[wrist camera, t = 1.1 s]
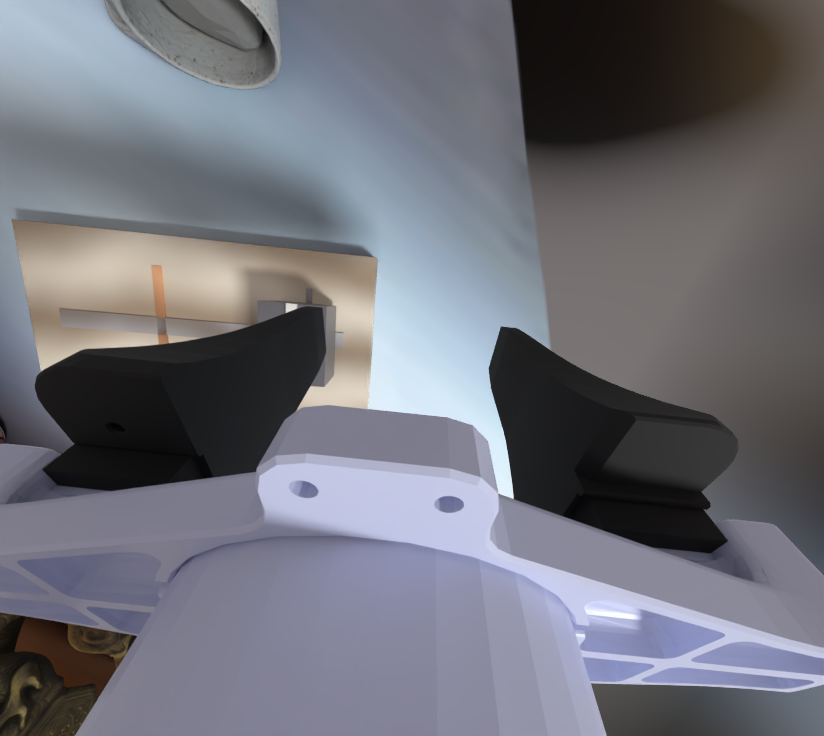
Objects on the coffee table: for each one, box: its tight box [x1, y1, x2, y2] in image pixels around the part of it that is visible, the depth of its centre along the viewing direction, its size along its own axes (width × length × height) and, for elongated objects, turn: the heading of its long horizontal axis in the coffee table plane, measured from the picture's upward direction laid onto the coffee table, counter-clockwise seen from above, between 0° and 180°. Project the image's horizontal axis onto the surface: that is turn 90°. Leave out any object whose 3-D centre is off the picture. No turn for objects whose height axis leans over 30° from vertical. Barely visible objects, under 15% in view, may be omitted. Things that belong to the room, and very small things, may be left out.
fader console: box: [12, 219, 378, 411], centre depth 21 cm, size 12×23×2 cm, turn 85°
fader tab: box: [257, 300, 336, 387], centre depth 19 cm, size 5×4×3 cm
